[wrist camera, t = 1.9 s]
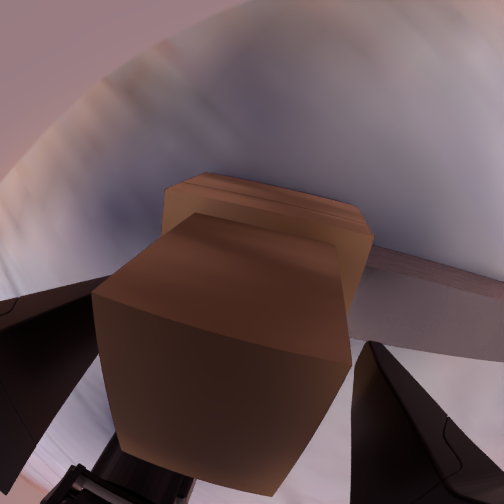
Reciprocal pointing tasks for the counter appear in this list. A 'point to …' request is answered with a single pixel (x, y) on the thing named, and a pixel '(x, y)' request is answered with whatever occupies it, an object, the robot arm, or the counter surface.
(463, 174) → the counter surface
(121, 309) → the carriage
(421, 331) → the rail
